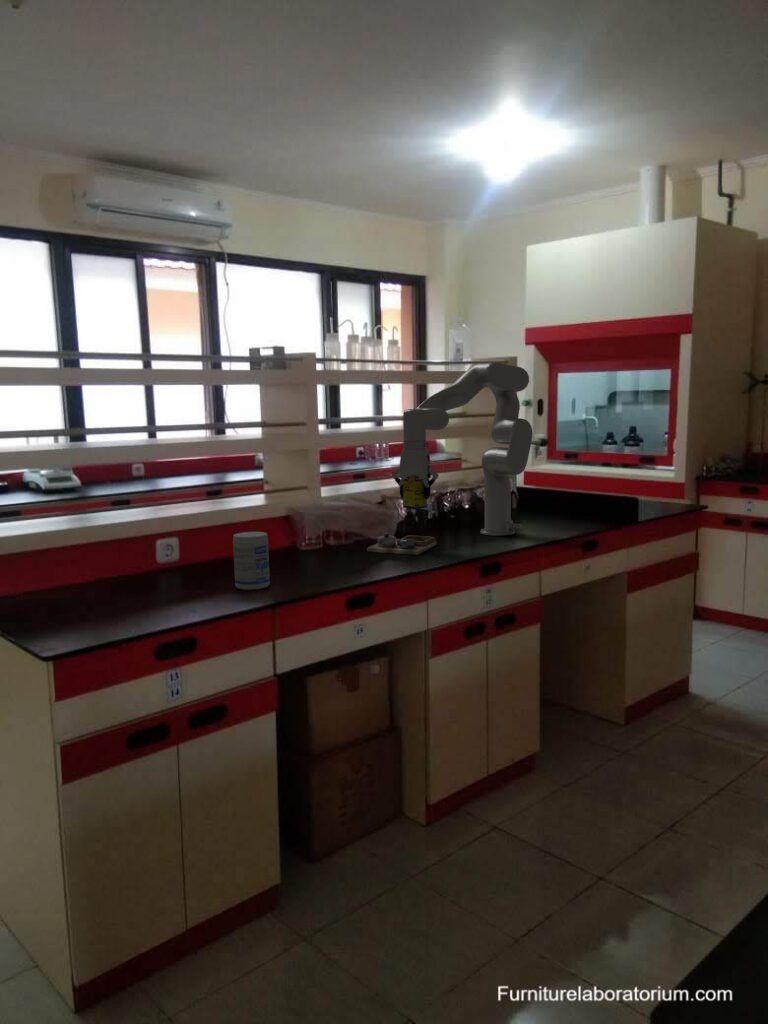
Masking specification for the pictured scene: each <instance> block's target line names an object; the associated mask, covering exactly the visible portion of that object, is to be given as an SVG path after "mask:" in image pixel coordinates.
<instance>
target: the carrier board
mask: <svg viewBox="0 0 768 1024" xmlns="http://www.w3.org/2000/svg"><path fill="white" fill-rule="evenodd" d="M383 534H384V535H381V536H378V537H377V542H376V543H375V544H373V545H370V546H368V547H366V552H370V553H385V554H397V555H398V554H401V555H413V556H415V555H416V556H418V555H421V554H422V553H424V552H425V551H427V550H430V549H431V548H433V547H435V546H436V545H437V540H436V536H428V535H427V536H426V535H425V536H423V535H406V536H403V537H401V538H397V537H396V536H395V535H390V533H388V532H386V533H383ZM401 539H414V547H415V548H413V549H400V548H399V540H401Z"/></svg>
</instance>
